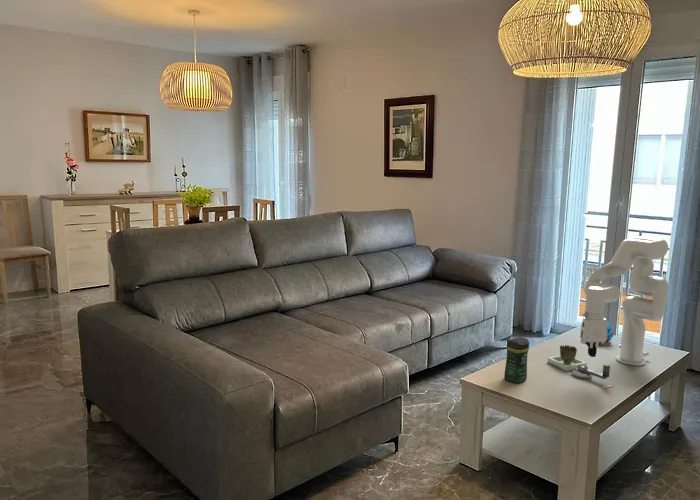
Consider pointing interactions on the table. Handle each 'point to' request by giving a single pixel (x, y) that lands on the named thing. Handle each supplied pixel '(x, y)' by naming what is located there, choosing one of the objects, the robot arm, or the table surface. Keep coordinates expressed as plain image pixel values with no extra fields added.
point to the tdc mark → (607, 386)
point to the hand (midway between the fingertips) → (591, 355)
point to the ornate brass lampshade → (567, 354)
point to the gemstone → (608, 335)
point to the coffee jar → (516, 360)
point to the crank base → (581, 374)
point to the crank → (603, 376)
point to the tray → (559, 363)
